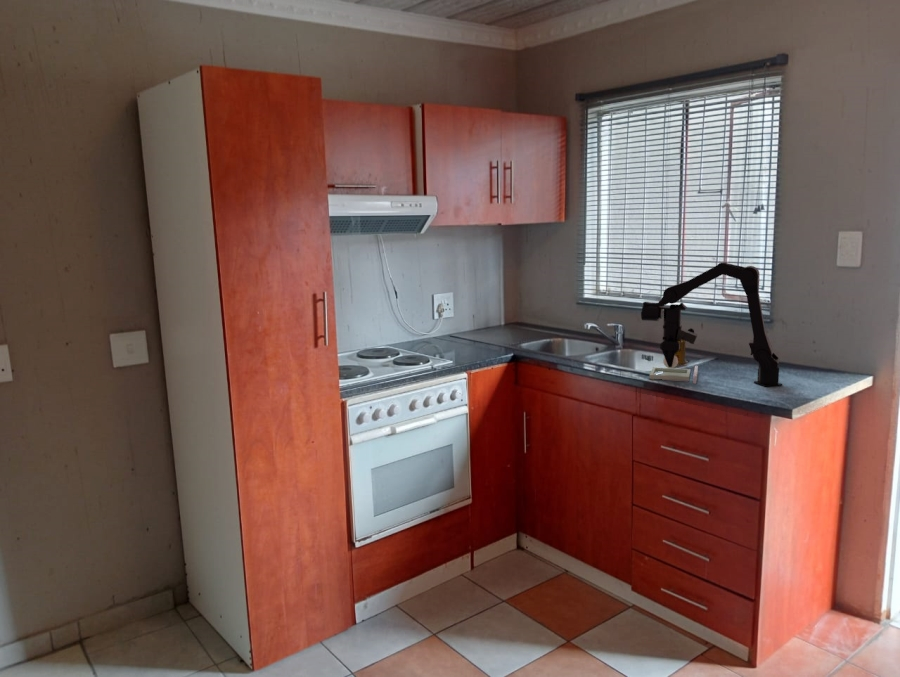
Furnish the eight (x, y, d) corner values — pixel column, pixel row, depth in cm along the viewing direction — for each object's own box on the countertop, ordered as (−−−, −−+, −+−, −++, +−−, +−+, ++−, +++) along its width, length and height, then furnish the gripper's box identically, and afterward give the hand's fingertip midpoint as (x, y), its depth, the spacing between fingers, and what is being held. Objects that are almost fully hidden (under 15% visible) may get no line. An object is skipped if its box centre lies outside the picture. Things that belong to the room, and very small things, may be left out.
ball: (680, 369, 241) (681, 355, 240) (667, 370, 240) (668, 356, 239) (673, 366, 246) (673, 352, 245) (660, 367, 245) (660, 353, 244)
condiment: (666, 364, 263) (667, 334, 261) (668, 360, 270) (669, 330, 268) (686, 366, 260) (687, 335, 258) (688, 361, 267) (689, 331, 265)
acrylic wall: (696, 383, 232) (696, 376, 231) (693, 383, 232) (693, 376, 232) (697, 372, 248) (698, 365, 248) (694, 372, 249) (695, 365, 248)
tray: (688, 381, 235) (688, 377, 235) (649, 379, 240) (649, 374, 239) (690, 373, 247) (690, 369, 247) (652, 371, 252) (653, 367, 251)
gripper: (695, 326, 228) (693, 372, 231) (697, 319, 246) (695, 361, 248) (660, 325, 233) (659, 370, 235) (664, 318, 250) (663, 360, 252)
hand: (670, 365), depth 243 cm, fingers closed on ball, 5 cm apart
